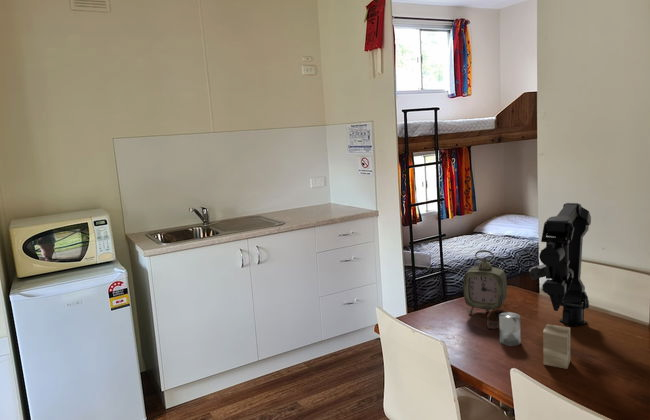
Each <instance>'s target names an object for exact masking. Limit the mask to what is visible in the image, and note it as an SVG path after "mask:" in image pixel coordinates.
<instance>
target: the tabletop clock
mask: <svg viewBox="0 0 650 420" xmlns="http://www.w3.org/2000/svg"><path fill="white" fill-rule="evenodd" d="M479 253H489V254H491V256H492V257H491V258H489V259H487V257H483V258H480V257H478V256H477V254H479ZM474 257H475V258H476V259H477V260H478V261H481V262H479V264H478V265H477V266H473V267H470V268H469V269H468V270H467V272H465V274H464V276H463V284H462V285H463V286H462V289H463V290H462V291H463V298H464V301H465V303H466V305H467V306H469V307H471V308H470V309H469V310H468V311H467V313H468V314H469V315H472V314H473V313H474V312H473V310H474V308H476V309H482V310H485V312H486V313H489V312H491V311H492V310H494V309H495V308H497V307H500V308H502V307H503V304H504V303H505V302H506V299H507V294H508V283H507V275H506V273H505V270H503V269H501V268H498V267H493V265H492V264H491V263H490V262H491V261H493V260H494V259H495V255H494V253H493V252H492V251H491V250H486V249H481V250H478V251H476V252H475V255H474Z"/></svg>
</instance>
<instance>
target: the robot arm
mask: <svg viewBox="0 0 650 420" xmlns="http://www.w3.org/2000/svg"><path fill="white" fill-rule="evenodd" d="M591 223H592V216H591V212H590V211H589V210H588V209H586V208H584V207H583V206H582V204H581V203H578V202H566V203H564V204H563V206H562V209H561V210H560V211H559V212H558V214H557V215H554V216H549V217H548V218H547V219H546V221H545V222H544V223H543V229H542V233H541V239H540V241H541V243H546V244H545V245H546V246H545V247H544V248H543V249H541V251H540V252H539V256H538V257H539V260H540V262H541V263H542V264H540V265H535V266H532V267H531V268H529V269H528V276H529V277H530V278H531V280H532V281H535V280H537V279H541V278H545V279H546V280H545V281H544V282H543V283H542V292H543V293H544V294H547V295H548V296H549V298H550V302H551V305H552V308H553V311H555V312H558V311H559V309H560V307H562V318H561V319H559V322H561V323H563V324H567V325H568V326H570V327H579V326H583V325H587V324H588V323H589V321H586V320H585V310H586V309H589V308H590V301H589V296H588V294H587V292H586V286H585V284H584V283H583V281H582V279H581V273H582V257H583V256H582V255H583V254H582V253H583V242H584V241H583V240H584V237H585V235H586V234H587V232H588V231H589V229H590V227H589V226H591Z"/></svg>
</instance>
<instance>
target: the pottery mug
mask: <svg viewBox="0 0 650 420" xmlns="http://www.w3.org/2000/svg"><path fill="white" fill-rule="evenodd" d="M505 312H509V311H507V310H506V309H504V308H502V307H501V308H500V307H497V308H495V309H494V310H490V311H489V312H488V314H487V315H486V318H487V321H486V322H487V323H486V325H487V327H488V329H489V330H490V329H494V330H496V329H500V326H499V315H500V314H501V313H505ZM493 315H494V317H495V318H496V321H494V320H491V319H490V318H491V317H492V316H493Z"/></svg>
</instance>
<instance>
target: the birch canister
mask: <svg viewBox="0 0 650 420" xmlns="http://www.w3.org/2000/svg"><path fill="white" fill-rule="evenodd" d="M542 332H543V333H542V335H543V338H542V339H543V340H542V343H543V348H542V349H543V352H542V353H543V354H542V355H543V356H542V357H543V366H544V365H545V366H550V367H553V368H554V367H555V368H561V369H566V370H568V368H569V365H570V362H571V326H561V325H556V324H555V325H554V324H548V323H547V324H546V325H545V327H544V329H543V331H542Z"/></svg>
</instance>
